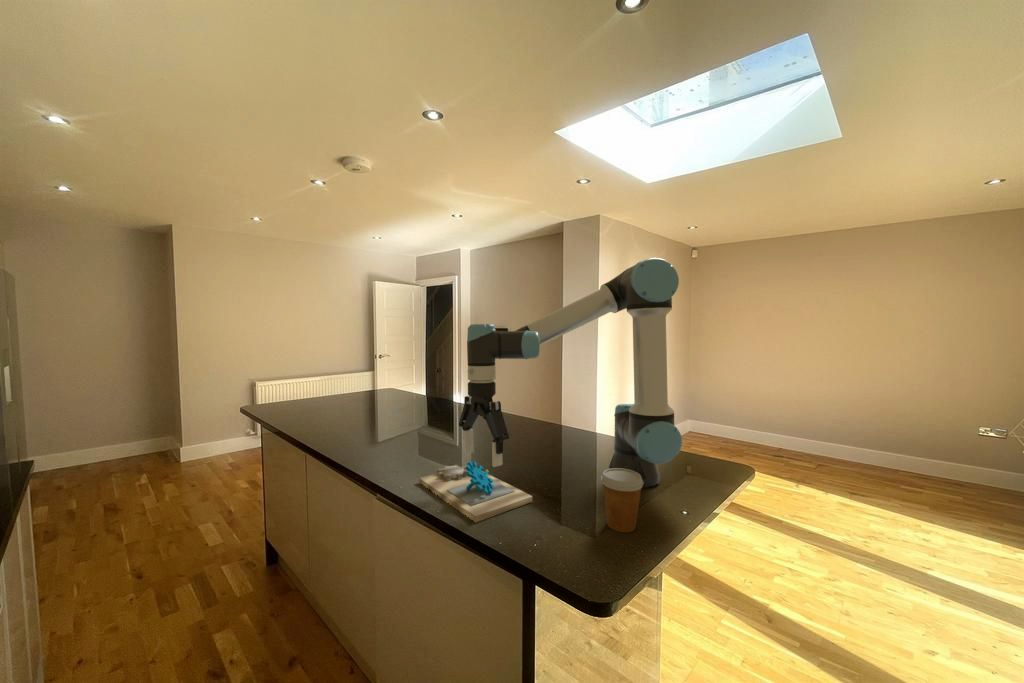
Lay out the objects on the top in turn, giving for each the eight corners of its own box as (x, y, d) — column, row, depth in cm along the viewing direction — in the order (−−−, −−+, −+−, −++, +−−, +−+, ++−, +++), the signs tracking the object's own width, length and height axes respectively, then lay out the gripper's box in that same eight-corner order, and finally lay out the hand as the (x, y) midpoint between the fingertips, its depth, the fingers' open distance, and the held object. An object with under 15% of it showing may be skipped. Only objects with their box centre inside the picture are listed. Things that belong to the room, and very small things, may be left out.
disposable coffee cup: (651, 533, 85) (652, 480, 85) (614, 539, 82) (615, 484, 82) (627, 513, 94) (628, 465, 94) (592, 518, 91) (593, 469, 91)
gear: (486, 495, 96) (463, 463, 99) (470, 509, 97) (447, 477, 100) (501, 485, 106) (480, 456, 109) (487, 498, 107) (466, 469, 110)
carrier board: (532, 501, 100) (532, 490, 100) (475, 522, 89) (475, 510, 89) (469, 469, 124) (469, 459, 124) (418, 482, 113) (418, 472, 112)
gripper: (446, 378, 110) (447, 450, 110) (498, 387, 90) (499, 475, 91) (468, 376, 114) (469, 445, 115) (522, 384, 95) (522, 468, 96)
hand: (482, 459), depth 103 cm, fingers open, 13 cm apart
